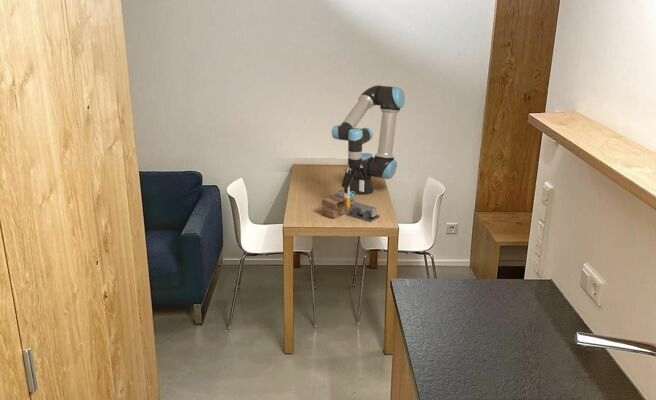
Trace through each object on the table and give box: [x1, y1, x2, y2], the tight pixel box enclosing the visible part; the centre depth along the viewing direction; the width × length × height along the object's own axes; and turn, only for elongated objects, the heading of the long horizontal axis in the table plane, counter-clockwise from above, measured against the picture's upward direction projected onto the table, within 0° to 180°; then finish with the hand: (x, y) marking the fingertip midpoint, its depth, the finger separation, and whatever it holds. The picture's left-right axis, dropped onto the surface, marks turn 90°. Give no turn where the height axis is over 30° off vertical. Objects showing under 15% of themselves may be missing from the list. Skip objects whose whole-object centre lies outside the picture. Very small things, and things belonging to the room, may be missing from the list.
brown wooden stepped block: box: [321, 193, 348, 220], centre depth 338 cm, size 12×8×9 cm, turn 141°
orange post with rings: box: [336, 185, 357, 208], centre depth 350 cm, size 12×10×15 cm
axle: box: [349, 201, 378, 217], centre depth 336 cm, size 4×15×4 cm, turn 52°
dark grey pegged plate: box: [345, 209, 380, 223], centre depth 337 cm, size 9×16×4 cm, turn 51°
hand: (354, 194), depth 338 cm, fingers open, 13 cm apart
